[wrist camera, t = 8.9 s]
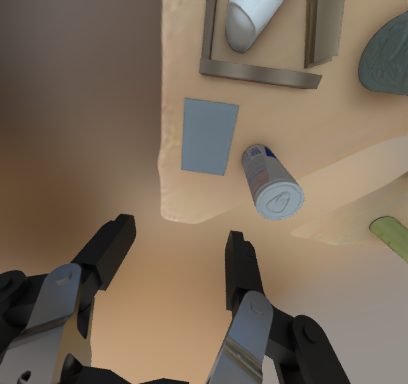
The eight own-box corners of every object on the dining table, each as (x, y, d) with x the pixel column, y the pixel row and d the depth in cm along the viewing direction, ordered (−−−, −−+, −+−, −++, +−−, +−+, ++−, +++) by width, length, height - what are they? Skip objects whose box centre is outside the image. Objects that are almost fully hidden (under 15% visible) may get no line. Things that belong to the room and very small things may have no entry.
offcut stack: (336, -58, 18) (355, -82, 16) (325, 61, 24) (338, 58, 21) (307, -46, 19) (321, -66, 17) (303, 68, 25) (312, 66, 22)
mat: (238, 105, 27) (238, 105, 27) (224, 174, 34) (224, 175, 34) (185, 98, 28) (184, 98, 27) (181, 168, 35) (181, 169, 34)
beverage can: (242, 173, 34) (255, 223, 21) (240, 146, 31) (254, 185, 18) (271, 169, 33) (302, 219, 20) (271, 141, 30) (308, 179, 17)
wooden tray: (372, -93, 17) (410, -138, 14) (304, 88, 26) (316, 88, 22) (219, -113, 17) (219, -162, 14) (202, 74, 26) (199, 72, 22)
